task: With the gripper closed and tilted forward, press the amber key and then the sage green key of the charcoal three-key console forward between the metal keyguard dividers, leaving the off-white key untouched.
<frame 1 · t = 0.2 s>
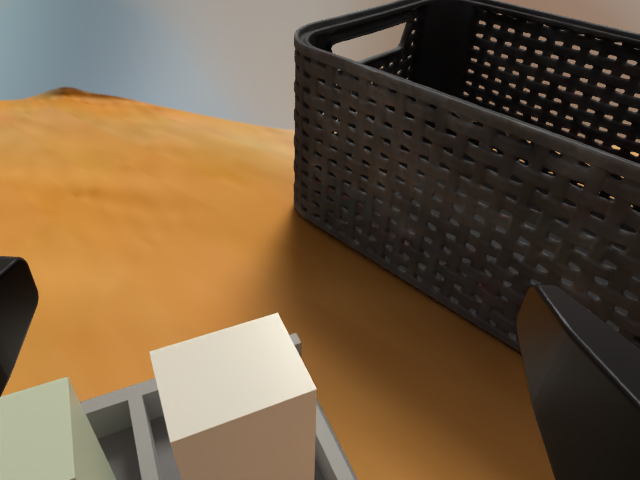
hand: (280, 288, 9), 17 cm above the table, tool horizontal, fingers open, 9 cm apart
storage bin: (498, 237, 38), on the table
off-white key: (240, 437, 19), point 5 cm above the table, slide at 0.0 cm
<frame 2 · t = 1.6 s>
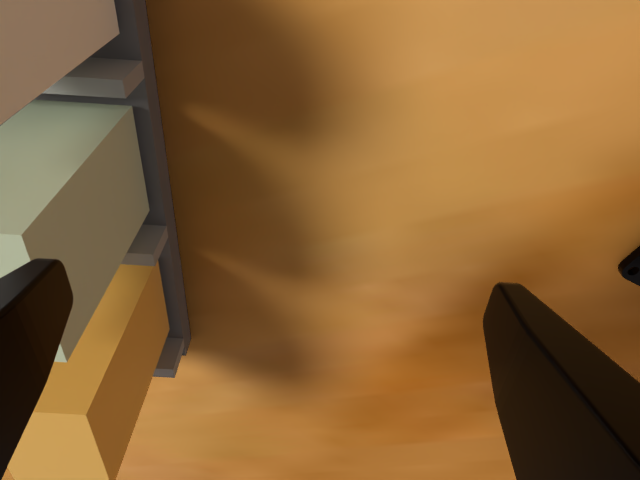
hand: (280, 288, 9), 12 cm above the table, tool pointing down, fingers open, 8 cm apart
sage key: (48, 216, 16), point 5 cm above the table, slide at 0.0 cm
amber key: (93, 360, 21), point 5 cm above the table, slide at 0.0 cm
key console: (79, 140, 21), on the table
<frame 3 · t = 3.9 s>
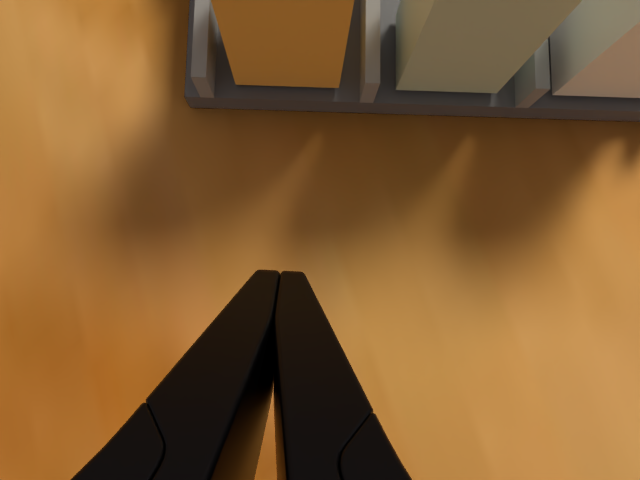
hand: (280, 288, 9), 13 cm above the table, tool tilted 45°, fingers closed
sage key: (476, 0, 19), point 6 cm above the table, slide at 0.0 cm
key console: (436, 45, 24), on the table
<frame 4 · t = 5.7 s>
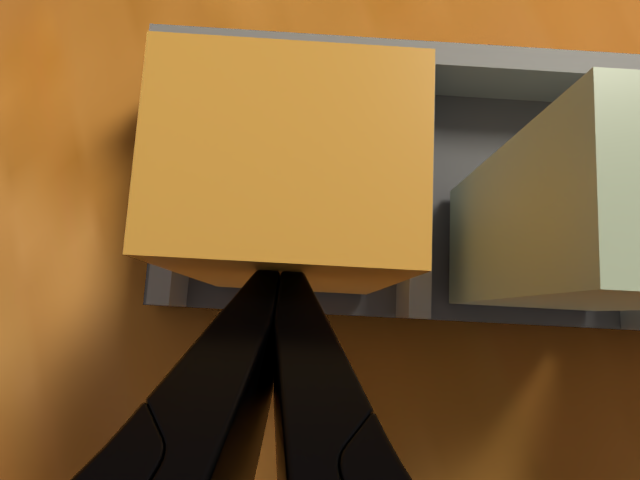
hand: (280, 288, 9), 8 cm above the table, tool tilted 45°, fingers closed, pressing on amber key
sage key: (594, 227, 12), point 6 cm above the table, slide at 0.0 cm
amber key: (292, 205, 12), point 6 cm above the table, slide at 0.1 cm, touching gripper
key console: (503, 219, 17), on the table
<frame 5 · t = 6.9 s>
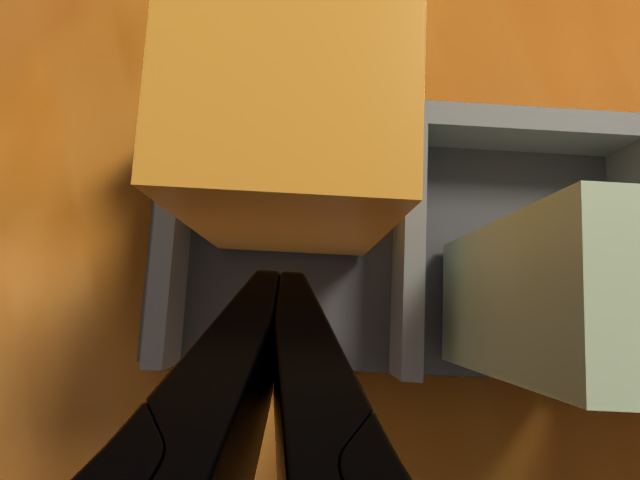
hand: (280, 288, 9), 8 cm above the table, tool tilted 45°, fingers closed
sage key: (585, 303, 12), point 5 cm above the table, slide at 0.0 cm
amber key: (290, 159, 12), point 6 cm above the table, slide at 3.0 cm
key console: (496, 269, 17), on the table
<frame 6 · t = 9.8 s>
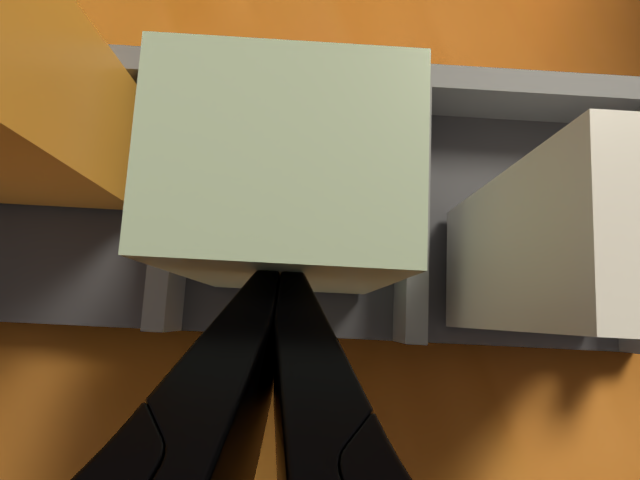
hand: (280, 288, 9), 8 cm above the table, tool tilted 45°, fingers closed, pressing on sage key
sage key: (289, 205, 12), point 5 cm above the table, slide at 0.9 cm, touching gripper
key console: (294, 228, 17), on the table
off-white key: (592, 257, 12), point 5 cm above the table, slide at 0.0 cm
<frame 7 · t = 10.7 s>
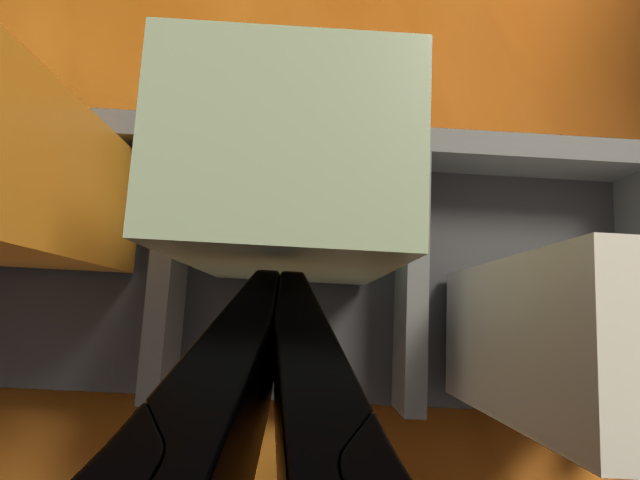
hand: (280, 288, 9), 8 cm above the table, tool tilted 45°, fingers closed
sage key: (290, 193, 12), point 6 cm above the table, slide at 3.0 cm
key console: (292, 285, 17), on the table
off-white key: (594, 343, 11), point 6 cm above the table, slide at 0.0 cm
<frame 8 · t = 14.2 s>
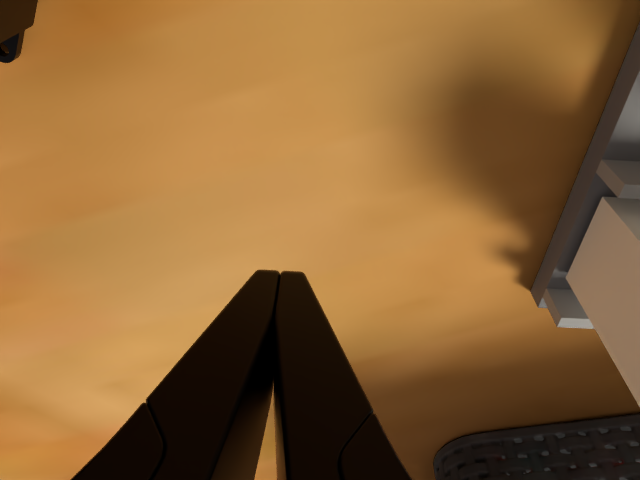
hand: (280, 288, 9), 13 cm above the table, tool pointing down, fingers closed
storage bin: (631, 479, 38), on the table
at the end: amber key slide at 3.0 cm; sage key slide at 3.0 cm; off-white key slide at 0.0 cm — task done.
